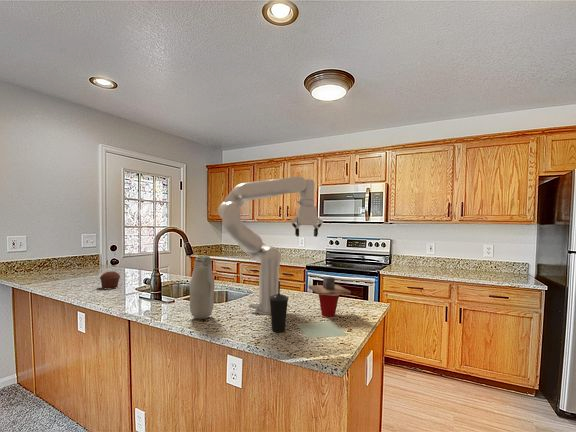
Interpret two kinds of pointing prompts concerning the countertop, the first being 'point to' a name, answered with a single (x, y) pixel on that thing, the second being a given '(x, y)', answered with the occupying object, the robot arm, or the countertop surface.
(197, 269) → the gray bottle
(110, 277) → the muffin
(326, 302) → the plastic cup
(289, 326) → the countertop surface
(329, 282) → the lid
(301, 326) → the mat
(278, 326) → the drinking cup
